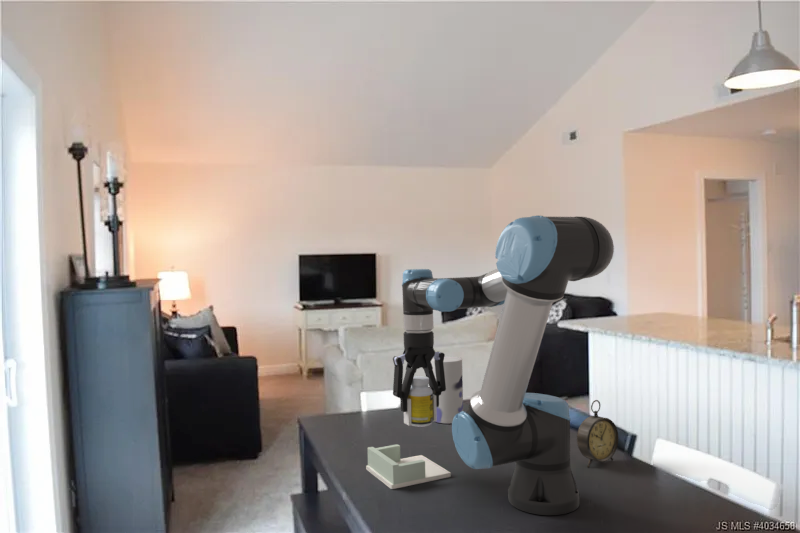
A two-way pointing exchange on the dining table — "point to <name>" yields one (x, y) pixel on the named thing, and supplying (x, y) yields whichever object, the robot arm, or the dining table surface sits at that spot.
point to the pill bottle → (421, 402)
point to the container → (450, 390)
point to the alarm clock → (597, 438)
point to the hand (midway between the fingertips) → (420, 421)
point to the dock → (402, 467)
